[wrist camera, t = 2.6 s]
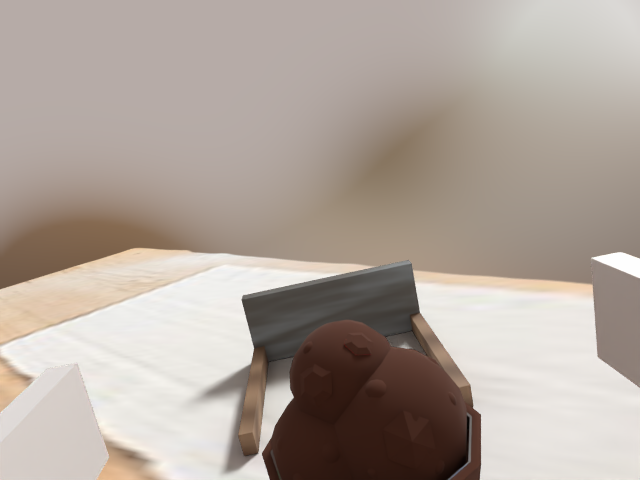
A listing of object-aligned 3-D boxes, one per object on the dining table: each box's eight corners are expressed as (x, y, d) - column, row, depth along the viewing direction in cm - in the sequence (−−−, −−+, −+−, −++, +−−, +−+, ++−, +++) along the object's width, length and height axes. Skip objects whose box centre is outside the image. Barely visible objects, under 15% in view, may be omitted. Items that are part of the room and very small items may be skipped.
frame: (473, 406, 39) (460, 317, 37) (244, 455, 39) (219, 369, 37) (419, 323, 56) (408, 260, 54) (259, 358, 56) (242, 295, 54)
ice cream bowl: (273, 676, 23) (190, 403, 19) (337, 496, 33) (290, 295, 29) (510, 730, 19) (459, 404, 16) (500, 509, 29) (467, 281, 26)
